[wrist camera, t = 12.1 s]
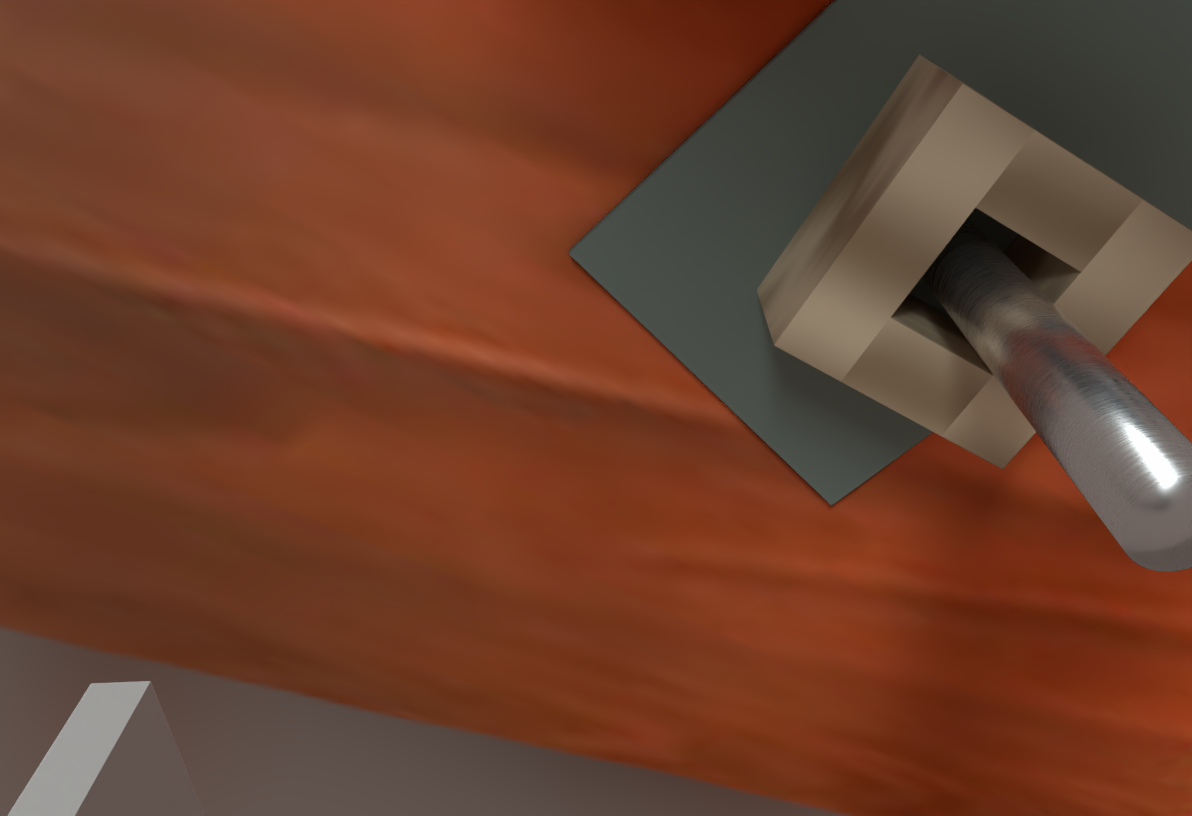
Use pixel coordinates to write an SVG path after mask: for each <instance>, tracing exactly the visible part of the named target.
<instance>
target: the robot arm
mask: <svg viewBox="0 0 1192 816" xmlns="http://www.w3.org/2000/svg"><path fill="white" fill-rule="evenodd" d="M8 816H205V815H204V812H203V810H202V807H201V805H200V802H199V800H198V798H197V795H196V793H195V790H194V788H193V785H192V783H191V780H190V778H189V775H188V773H187V771H186V768H185V766H184V763H183V760H182V758H181V755H180V753H179V751H178V748H177V745H176V743H175V740H174V738H173V736H172V733H171V731H170V728H169V726H168V723H167V721H166V718H165V716H164V713H163V711H162V708H161V706H160V703H159V701H158V698H157V696H156V693H155V691H154V688H153V686H152V683H151V681H144V682H118V683H94V684H90V686H89V688H88V689H87V691H86V692H85V694H84V696H83V697H82V699H81V700H80V702H79V703H78V705H77V707H76V708H75V710H74V711H73V713H72V714H71V716H70V718H69V719H68V721H67V722H66V724H65V726H64V727H63V729H62V730H61V732H60V733H59V735H58V737H57V738H56V740H55V741H54V743H53V744H52V746H51V748H50V749H49V751H48V753H47V754H46V756H45V757H44V759H43V760H42V762H41V763H40V765H39V767H38V768H37V770H36V772H35V773H34V775H33V776H32V778H31V779H30V781H29V783H28V784H27V786H26V787H25V789H24V790H23V792H22V794H21V795H20V797H19V798H18V800H17V801H16V803H15V805H14V806H13V808H12V809H11V811H10V813H9V814H8Z"/></svg>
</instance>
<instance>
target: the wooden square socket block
mask: <svg viewBox="0 0 1192 816" xmlns="http://www.w3.org/2000/svg"><path fill="white" fill-rule="evenodd" d="M975 207H976V208H977V209H979V210H980V211H982V212H984V213H985V214H987V215H989V216H990V217H992V218H994V219H995V220H997V221H998V222H1000V223H1002V224H1003V225H1005V226H1007V227H1008V228H1010V229H1012V230H1013V231H1015V232H1016V233H1018V235H1017V236H1016V238H1015V239H1014V240H1013V241H1012V243H1011V244H1010V245H1009V246H1008V248H1007V249H1006V250H1005V251H1004V254H1005V255H1006V256H1007V257H1008V258H1009V259H1010V260H1011V261H1012V262H1013V263H1014V264H1015V265H1016V266H1017V267H1018V268H1019V269H1020V270H1021V271H1022V272H1023V274H1024V275H1025V276H1026V277H1027V278H1028V279H1029V280H1030V281H1031V282H1032V283H1033V284H1034V285H1035V286H1036V287H1037V288H1038V289H1039V290H1040V291H1041V292H1042V293H1043V294H1044V295H1045V296H1046V297H1047V298H1048V299H1049V300H1050V301H1051V302H1052V303H1053V304H1054V305H1055V306H1056V307H1057V308H1058V309H1059V310H1060V311H1061V312H1062V313H1063V314H1064V315H1065V316H1066V317H1067V318H1068V319H1069V320H1070V321H1071V322H1072V323H1073V324H1074V325H1075V326H1076V327H1077V328H1078V329H1079V330H1080V331H1081V332H1082V333H1083V334H1084V335H1085V336H1086V337H1087V338H1088V339H1089V340H1090V341H1091V342H1092V343H1093V344H1094V345H1095V346H1096V347H1097V348H1098V349H1099V350H1100V351H1101V352H1102V353H1103V354H1104V355H1106V354H1107V353H1108V352H1109V351H1110V350H1111V349H1112V348H1113V347H1114V346H1115V344H1116V343H1117V342H1118V341H1119V340H1120V339H1121V338H1122V337H1123V336H1124V335H1125V333H1126V332H1127V331H1128V330H1129V329H1130V328H1131V327H1132V326H1133V325H1134V323H1135V322H1136V321H1137V320H1138V319H1139V318H1140V317H1141V316H1142V315H1143V314H1144V312H1145V311H1146V310H1147V309H1148V308H1149V307H1150V306H1151V305H1152V304H1153V303H1154V301H1155V300H1156V299H1157V298H1158V297H1159V296H1160V295H1161V294H1162V293H1163V291H1164V290H1165V289H1166V288H1167V287H1168V286H1169V285H1170V284H1171V283H1172V282H1173V280H1174V279H1175V278H1176V277H1177V276H1178V275H1179V274H1180V273H1181V272H1182V270H1183V269H1184V268H1185V267H1186V266H1187V265H1188V264H1189V263H1190V262H1191V261H1192V231H1191V230H1190V229H1188V228H1187V227H1185V226H1184V225H1182V224H1181V223H1179V222H1178V221H1176V220H1174V219H1173V218H1171V217H1170V216H1168V215H1167V214H1165V213H1164V212H1162V211H1161V210H1159V209H1158V208H1156V207H1155V206H1153V205H1152V204H1150V203H1149V202H1147V201H1146V200H1144V199H1143V198H1141V197H1140V196H1138V195H1137V194H1135V193H1134V192H1132V191H1130V190H1129V189H1127V188H1126V187H1124V186H1123V185H1121V184H1120V183H1118V182H1117V181H1115V180H1113V179H1112V178H1110V177H1109V176H1107V175H1106V174H1104V173H1103V172H1101V171H1099V170H1098V169H1096V168H1095V167H1093V166H1092V165H1090V164H1089V163H1087V162H1085V161H1084V160H1082V159H1081V158H1079V157H1078V156H1076V155H1075V154H1073V153H1072V152H1070V151H1068V150H1067V149H1065V148H1064V147H1062V146H1061V145H1059V144H1058V143H1056V142H1054V141H1053V140H1051V139H1050V138H1048V137H1047V136H1045V135H1044V134H1042V133H1041V132H1039V131H1037V130H1036V129H1034V128H1033V127H1031V126H1030V125H1028V124H1027V123H1025V122H1023V121H1022V120H1020V119H1019V118H1017V117H1016V116H1014V115H1013V114H1011V113H1009V112H1008V111H1006V110H1005V109H1003V108H1002V107H1000V106H999V105H997V104H996V103H994V102H992V101H991V100H989V99H988V98H986V97H985V96H983V95H982V94H980V93H978V92H977V91H975V90H974V89H972V88H971V87H969V86H968V85H966V84H965V83H963V82H961V81H960V80H958V79H957V78H955V77H954V76H952V75H951V74H949V73H947V72H946V71H944V70H943V69H941V68H940V67H938V66H937V65H935V64H933V63H932V62H930V61H929V60H927V59H926V58H924V57H923V56H921V55H920V54H919V56H918V57H917V59H916V60H915V62H914V63H913V64H912V66H911V67H910V69H909V70H908V72H907V73H906V75H905V76H904V77H903V79H902V80H901V82H900V83H899V85H898V86H897V88H896V89H895V90H894V92H893V93H892V95H891V96H890V98H889V99H888V101H887V102H886V103H885V105H884V106H883V108H882V109H881V111H880V112H879V114H878V115H877V116H876V118H875V119H874V121H873V122H872V124H871V125H870V127H869V128H868V130H867V131H866V132H865V134H864V135H863V137H862V138H861V140H860V141H859V143H858V144H857V145H856V147H855V148H854V150H853V151H852V153H851V154H850V156H849V157H848V158H847V160H846V161H845V163H844V164H843V166H842V167H841V169H840V170H839V171H838V173H837V174H836V176H835V177H834V179H833V180H832V182H831V183H830V184H829V186H828V187H827V189H826V190H825V192H824V193H823V195H822V196H821V197H820V199H819V200H818V202H817V203H816V205H815V206H814V208H813V209H812V211H811V212H810V213H809V215H808V216H807V218H806V219H805V221H804V222H803V224H802V225H801V226H800V228H799V229H798V231H797V232H796V234H795V235H794V237H793V238H792V239H791V241H790V242H789V244H788V245H787V247H786V248H785V250H784V251H783V252H782V254H781V255H780V257H779V258H778V260H777V261H776V263H775V264H774V265H773V267H772V268H771V270H770V271H769V273H768V274H767V276H766V277H765V279H764V280H763V281H762V283H761V284H760V286H759V287H758V289H757V293H758V296H759V299H760V302H761V305H762V309H763V312H764V315H765V318H766V321H767V324H768V328H769V331H770V334H771V337H772V340H773V344H774V346H776V347H778V348H780V349H782V350H784V351H785V352H787V353H789V354H791V355H793V356H795V357H796V358H798V359H800V360H802V361H804V362H806V363H807V364H809V365H811V366H813V367H815V368H817V369H818V370H820V371H822V372H824V373H826V374H828V375H830V376H831V377H833V378H835V379H837V380H839V381H841V382H842V383H844V384H846V385H848V386H850V387H852V388H853V389H855V390H857V391H859V392H861V393H863V394H865V395H866V396H868V397H870V398H872V399H874V400H876V401H877V402H879V403H881V404H883V405H885V406H887V407H888V408H890V409H892V410H894V411H896V412H898V413H899V414H901V415H903V416H905V417H907V418H909V419H911V420H912V421H914V422H916V423H918V424H920V425H922V426H923V427H925V428H927V429H929V430H931V431H933V432H934V433H936V434H938V435H940V436H942V437H944V438H946V439H947V440H949V441H951V442H953V443H955V444H957V445H958V446H960V447H962V448H964V449H966V450H968V451H969V452H971V453H973V454H975V455H977V456H979V457H980V458H982V459H984V460H986V461H988V462H990V463H992V464H993V465H995V466H997V467H999V468H1001V469H1003V468H1004V467H1005V466H1006V465H1007V464H1008V463H1009V461H1010V460H1011V459H1012V458H1013V457H1014V456H1015V455H1016V454H1017V453H1018V451H1019V450H1020V449H1021V448H1022V447H1023V446H1024V445H1025V444H1026V443H1027V442H1028V440H1029V439H1030V438H1031V437H1032V436H1033V435H1034V434H1035V433H1036V431H1035V430H1034V428H1033V427H1032V426H1031V424H1030V423H1029V422H1028V420H1027V419H1026V418H1025V416H1024V415H1023V414H1022V412H1021V411H1020V410H1019V408H1018V407H1017V405H1016V404H1015V403H1014V401H1013V400H1012V399H1011V397H1010V396H1009V395H1008V393H1007V392H1006V391H1005V389H1004V388H1003V387H1002V385H1001V384H1000V383H999V381H998V380H997V379H996V377H995V376H994V374H993V373H992V372H991V370H990V369H989V368H988V366H987V365H986V364H985V362H984V361H983V360H982V358H981V357H980V356H979V354H978V353H977V352H976V350H975V349H974V347H973V346H972V345H971V343H970V342H969V341H968V339H967V338H966V337H965V335H964V334H963V333H962V331H961V330H960V329H959V327H958V326H957V325H956V323H955V322H954V321H953V319H952V318H951V317H949V316H948V315H946V314H944V313H942V312H941V311H939V310H937V309H936V308H934V307H932V306H930V305H929V304H927V303H925V302H923V301H922V300H920V299H918V298H916V297H915V296H913V295H911V294H910V292H911V290H912V289H913V288H914V286H915V285H916V284H917V283H918V281H919V280H920V279H921V277H922V276H923V275H924V273H925V272H926V271H927V270H928V268H929V267H930V266H931V264H932V263H933V262H934V261H935V259H936V258H937V257H938V255H939V254H940V253H941V251H942V250H943V249H944V248H945V246H946V245H947V244H948V242H949V241H950V240H951V239H952V237H953V236H954V235H955V233H956V232H957V231H958V229H959V228H960V227H961V226H962V224H963V223H964V222H965V220H966V219H967V218H968V217H969V215H970V214H971V213H972V211H973V210H974V209H975Z"/></svg>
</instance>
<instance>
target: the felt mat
mask: <svg viewBox="0 0 1192 816" xmlns="http://www.w3.org/2000/svg"><path fill="white" fill-rule="evenodd" d="M919 54H920V55H921V56H923V57H924V58H926V59H927V60H929V61H930V62H932V63H933V64H935V65H937V66H938V67H940V68H941V69H943V70H944V71H946V72H947V73H949V74H951V75H952V76H954V77H955V78H957V79H958V80H960V81H961V82H963V83H965V84H966V85H968V86H969V87H971V88H972V89H974V90H975V91H977V92H978V93H980V94H982V95H983V96H985V97H986V98H988V99H989V100H991V101H992V102H994V103H996V104H997V105H999V106H1000V107H1002V108H1003V109H1005V110H1006V111H1008V112H1009V113H1011V114H1013V115H1014V116H1016V117H1017V118H1019V119H1020V120H1022V121H1023V122H1025V123H1027V124H1028V125H1030V126H1031V127H1033V128H1034V129H1036V130H1037V131H1039V132H1041V133H1042V134H1044V135H1045V136H1047V137H1048V138H1050V139H1051V140H1053V141H1054V142H1056V143H1058V144H1059V145H1061V146H1062V147H1064V148H1065V149H1067V150H1068V151H1070V152H1072V153H1073V154H1075V155H1076V156H1078V157H1079V158H1081V159H1082V160H1084V161H1085V162H1087V163H1089V164H1090V165H1092V166H1093V167H1095V168H1096V169H1098V170H1099V171H1101V172H1103V173H1104V174H1106V175H1107V176H1109V177H1110V178H1112V179H1113V180H1115V181H1117V182H1118V183H1120V184H1121V185H1123V186H1124V187H1126V188H1127V189H1129V190H1130V191H1132V192H1134V193H1135V194H1137V195H1138V196H1140V197H1141V198H1143V199H1144V200H1146V201H1147V202H1149V203H1150V204H1152V205H1153V206H1155V207H1156V208H1158V209H1159V210H1161V211H1162V212H1164V213H1165V214H1167V215H1168V216H1170V217H1171V218H1173V219H1174V220H1176V221H1178V222H1179V223H1181V224H1182V225H1184V226H1185V227H1187V228H1188V229H1190V230H1191V231H1192V0H834V1H833V2H832V3H831V4H830V5H829V6H827V7H826V8H825V9H824V10H823V11H822V12H821V13H820V14H819V15H818V16H817V17H816V18H815V19H814V20H813V21H812V22H811V23H809V24H808V25H807V26H806V27H805V28H804V29H803V30H802V31H801V32H800V33H799V34H798V35H797V36H796V37H795V38H794V39H793V40H791V41H790V42H789V43H788V44H787V45H786V46H785V47H784V48H783V49H782V50H781V51H780V52H779V53H778V54H777V55H776V56H775V57H773V58H772V59H771V60H770V61H769V62H768V63H767V64H766V65H765V66H764V67H763V68H762V69H761V70H760V71H759V72H758V73H757V74H755V75H754V76H753V77H752V78H751V79H750V80H749V81H748V82H747V83H746V84H745V85H744V86H743V87H742V88H741V89H740V90H739V91H737V92H736V93H735V94H734V95H733V96H732V97H731V98H730V99H729V100H728V101H727V102H726V103H725V104H724V105H723V106H722V107H721V108H719V109H718V110H717V111H716V112H715V113H714V114H713V115H712V116H711V117H710V118H709V119H708V120H707V121H706V122H705V123H704V124H702V125H701V126H700V127H699V128H698V129H697V130H696V131H695V132H694V133H693V134H692V135H691V136H690V137H689V138H688V139H687V140H686V141H684V142H683V143H682V144H681V145H680V146H679V147H678V148H677V149H676V150H675V151H674V152H673V153H672V154H671V155H670V156H669V157H668V158H666V159H665V160H664V161H663V162H662V163H661V164H660V165H659V166H658V167H657V168H656V169H655V170H654V171H653V172H652V173H651V174H650V175H648V176H647V177H646V178H645V179H644V180H643V181H642V182H641V183H640V184H639V185H638V186H637V187H636V188H635V189H634V190H633V191H632V192H630V193H629V194H628V195H627V196H626V197H625V198H624V199H623V200H622V201H621V202H620V203H619V204H618V205H617V206H616V207H615V208H614V209H612V210H611V211H610V212H609V213H608V214H607V215H606V216H605V217H604V218H603V219H602V220H601V221H600V222H599V223H598V224H597V225H596V226H594V227H593V228H592V229H591V230H590V231H589V232H588V233H587V234H586V235H585V236H584V237H583V238H582V239H581V240H580V241H579V242H577V243H576V244H575V245H574V246H573V247H572V248H571V249H570V250H569V255H570V256H571V257H572V258H573V259H574V260H575V261H576V262H578V263H579V264H580V265H581V266H582V267H583V268H584V269H585V270H586V271H587V272H588V273H589V274H590V275H591V276H592V277H593V278H594V279H595V280H596V281H597V282H598V283H599V284H600V285H602V286H603V287H604V288H605V289H606V290H607V291H608V292H609V293H610V294H611V295H612V296H613V297H614V298H615V299H616V300H617V301H618V302H619V303H620V304H621V305H622V306H623V307H625V308H626V309H627V310H628V311H629V312H630V313H631V314H632V315H633V316H634V317H635V318H636V319H637V320H638V321H639V322H640V323H641V324H642V325H643V326H644V327H645V328H646V329H647V330H649V331H650V332H651V333H652V334H653V335H654V336H655V337H656V338H657V339H658V340H659V341H660V342H661V343H662V344H663V345H664V346H665V347H666V348H667V349H668V350H669V351H670V352H672V353H673V354H674V355H675V356H676V357H677V358H678V359H679V360H680V361H681V362H682V363H683V364H684V365H685V366H686V367H687V368H688V369H689V370H690V371H691V372H692V373H693V374H694V375H696V376H697V377H698V378H699V379H700V380H701V381H702V382H703V383H704V384H705V385H706V386H707V387H708V388H709V389H710V390H711V391H712V392H713V393H714V394H715V395H716V396H717V397H719V398H720V399H721V400H722V401H723V402H724V403H725V404H726V405H727V406H728V407H729V408H730V409H731V410H732V411H733V412H734V413H735V414H736V415H737V416H738V417H739V418H740V419H742V420H743V421H744V422H745V423H746V424H747V425H748V426H749V427H750V428H751V429H752V430H753V431H754V432H755V433H756V434H757V435H758V436H759V437H760V438H761V439H762V440H763V441H764V442H766V443H767V444H768V445H769V446H770V447H771V448H772V449H773V450H774V451H775V452H776V453H777V454H778V455H779V456H780V457H781V458H782V459H783V460H784V461H785V462H786V463H787V464H789V465H790V466H791V467H792V468H793V469H794V470H795V471H796V472H797V473H798V474H799V475H800V476H801V477H802V478H803V479H804V480H805V481H806V482H807V483H808V484H809V485H810V486H811V487H813V488H814V489H815V490H816V491H817V492H818V493H819V494H820V495H821V496H822V497H823V498H824V499H825V500H826V501H827V502H828V503H829V504H830V505H831V506H832V505H833V504H834V503H836V502H837V501H838V500H840V499H841V498H843V497H844V496H845V495H847V494H848V493H850V492H851V491H852V490H854V489H855V488H856V487H858V486H859V485H861V484H862V483H863V482H865V481H866V480H868V479H869V478H870V477H872V476H873V475H874V474H876V473H877V472H879V471H880V470H881V469H883V468H884V467H885V466H887V465H888V464H890V463H891V462H892V461H894V460H895V459H897V458H898V457H899V456H901V455H902V454H903V453H905V452H906V451H908V450H909V449H910V448H912V447H913V446H915V445H916V444H917V443H919V442H920V441H921V440H923V439H924V438H926V437H927V436H928V435H930V434H931V433H932V432H933V431H931V430H929V429H927V428H925V427H923V426H922V425H920V424H918V423H916V422H914V421H912V420H911V419H909V418H907V417H905V416H903V415H901V414H899V413H898V412H896V411H894V410H892V409H890V408H888V407H887V406H885V405H883V404H881V403H879V402H877V401H876V400H874V399H872V398H870V397H868V396H866V395H865V394H863V393H861V392H859V391H857V390H855V389H853V388H852V387H850V386H848V385H846V384H844V383H842V382H841V381H839V380H837V379H835V378H833V377H831V376H830V375H828V374H826V373H824V372H822V371H820V370H818V369H817V368H815V367H813V366H811V365H809V364H807V363H806V362H804V361H802V360H800V359H798V358H796V357H795V356H793V355H791V354H789V353H787V352H785V351H784V350H782V349H780V348H778V347H776V346H774V344H773V340H772V337H771V334H770V331H769V328H768V324H767V321H766V318H765V315H764V312H763V309H762V305H761V302H760V299H759V296H758V293H757V289H758V287H759V286H760V284H761V283H762V281H763V280H764V279H765V277H766V276H767V274H768V273H769V271H770V270H771V268H772V267H773V265H774V264H775V263H776V261H777V260H778V258H779V257H780V255H781V254H782V252H783V251H784V250H785V248H786V247H787V245H788V244H789V242H790V241H791V239H792V238H793V237H794V235H795V234H796V232H797V231H798V229H799V228H800V226H801V225H802V224H803V222H804V221H805V219H806V218H807V216H808V215H809V213H810V212H811V211H812V209H813V208H814V206H815V205H816V203H817V202H818V200H819V199H820V197H821V196H822V195H823V193H824V192H825V190H826V189H827V187H828V186H829V184H830V183H831V182H832V180H833V179H834V177H835V176H836V174H837V173H838V171H839V170H840V169H841V167H842V166H843V164H844V163H845V161H846V160H847V158H848V157H849V156H850V154H851V153H852V151H853V150H854V148H855V147H856V145H857V144H858V143H859V141H860V140H861V138H862V137H863V135H864V134H865V132H866V131H867V130H868V128H869V127H870V125H871V124H872V122H873V121H874V119H875V118H876V116H877V115H878V114H879V112H880V111H881V109H882V108H883V106H884V105H885V103H886V102H887V101H888V99H889V98H890V96H891V95H892V93H893V92H894V90H895V89H896V88H897V86H898V85H899V83H900V82H901V80H902V79H903V77H904V76H905V75H906V73H907V72H908V70H909V69H910V67H911V66H912V64H913V63H914V62H915V60H916V59H917V57H918V56H919ZM968 218H969V219H970V220H971V221H972V222H973V223H974V224H975V225H976V226H977V227H978V228H979V229H980V230H981V231H982V232H983V233H984V234H985V235H986V236H987V237H988V238H989V239H990V240H991V241H992V242H993V243H994V244H995V245H996V246H997V247H998V248H999V249H1000V250H1001V251H1002V252H1003V253H1004V251H1005V250H1006V249H1007V248H1008V246H1009V245H1010V244H1011V243H1012V241H1013V240H1014V239H1015V238H1016V236H1017V235H1018V233H1016V232H1015V231H1013V230H1012V229H1010V228H1008V227H1007V226H1005V225H1003V224H1002V223H1000V222H998V221H997V220H995V219H994V218H992V217H990V216H989V215H987V214H985V213H984V212H982V211H980V210H979V209H977V208H976V207H975V209H974V210H973V211H972V213H971V214H970V215H969V217H968ZM910 294H911V295H913V296H915V297H916V298H918V299H920V300H922V301H923V302H925V303H927V304H929V305H930V306H932V307H934V308H936V309H937V310H939V311H941V312H942V313H944V314H946V315H948V316H949V317H951V316H950V315H949V314H948V312H947V311H946V310H945V308H944V307H943V306H942V304H941V303H940V302H939V300H938V299H937V298H936V296H935V295H934V294H933V292H932V291H931V290H930V288H929V287H928V285H927V284H926V283H925V281H924V280H923V279H922V277H921V279H920V280H919V281H918V283H917V284H916V285H915V286H914V288H913V289H912V290H911V292H910Z"/></svg>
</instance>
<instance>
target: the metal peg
mask: <svg viewBox="0 0 1192 816" xmlns="http://www.w3.org/2000/svg"><path fill="white" fill-rule="evenodd" d="M922 279H923V280H924V281H925V283H926V284H927V285H928V287H929V288H930V290H931V291H932V292H933V294H934V295H935V296H936V298H937V299H938V300H939V302H940V303H941V304H942V306H943V307H944V308H945V310H946V311H947V312H948V314H949V315H950V316H951V318H952V319H953V321H954V322H955V323H956V325H957V326H958V327H959V329H960V330H961V331H962V333H963V334H964V335H965V337H966V338H967V339H968V341H969V342H970V343H971V345H972V346H973V347H974V349H975V350H976V352H977V353H978V354H979V356H980V357H981V358H982V360H983V361H984V362H985V364H986V365H987V366H988V368H989V369H990V370H991V372H992V373H993V374H994V376H995V377H996V379H997V380H998V381H999V383H1000V384H1001V385H1002V387H1003V388H1004V389H1005V391H1006V392H1007V393H1008V395H1009V396H1010V397H1011V399H1012V400H1013V401H1014V403H1015V404H1016V405H1017V407H1018V408H1019V410H1020V411H1021V412H1022V414H1023V415H1024V416H1025V418H1026V419H1027V420H1028V422H1029V423H1030V424H1031V426H1032V427H1033V428H1034V430H1035V431H1036V432H1037V434H1038V435H1039V437H1040V438H1041V439H1042V441H1043V442H1044V443H1045V445H1046V446H1047V447H1048V449H1049V450H1050V451H1051V453H1052V454H1053V455H1054V457H1055V458H1056V459H1057V461H1058V462H1059V463H1060V465H1061V466H1062V468H1063V469H1064V470H1065V472H1066V473H1067V474H1068V476H1069V477H1070V478H1071V480H1072V481H1073V482H1074V484H1075V485H1076V486H1077V488H1078V489H1079V490H1080V492H1081V493H1082V494H1083V496H1084V497H1085V499H1086V500H1087V501H1088V503H1089V504H1090V505H1091V507H1092V508H1093V509H1094V511H1095V512H1096V513H1097V515H1098V516H1099V517H1100V519H1101V520H1102V521H1103V523H1104V524H1105V526H1106V527H1107V528H1108V530H1109V531H1110V532H1111V534H1112V535H1113V536H1114V538H1115V539H1116V540H1117V542H1118V543H1119V544H1120V546H1121V547H1122V548H1123V550H1124V551H1125V552H1126V554H1127V555H1128V556H1129V558H1130V559H1131V560H1133V561H1134V562H1135V563H1137V564H1138V565H1140V566H1142V567H1144V568H1147V569H1151V570H1155V571H1166V572H1167V571H1179V570H1184V569H1188V568H1192V443H1191V442H1190V441H1189V440H1188V439H1187V438H1186V437H1185V436H1184V435H1183V434H1182V433H1181V432H1180V431H1179V430H1178V429H1177V428H1176V427H1175V426H1174V425H1173V424H1172V423H1171V422H1170V421H1169V420H1168V419H1167V418H1166V417H1165V416H1164V415H1163V414H1162V413H1161V412H1160V411H1159V410H1158V409H1157V408H1156V407H1155V406H1154V405H1153V404H1152V403H1151V402H1150V401H1149V400H1148V399H1147V398H1146V397H1145V396H1144V395H1143V394H1142V393H1141V392H1140V391H1139V390H1138V389H1137V388H1136V387H1135V386H1134V385H1133V384H1132V383H1131V382H1130V381H1129V380H1128V378H1127V377H1126V376H1125V375H1124V374H1123V373H1122V372H1121V371H1120V370H1119V369H1118V368H1117V367H1116V366H1115V365H1114V364H1113V363H1112V362H1111V361H1110V360H1109V359H1108V358H1107V357H1106V356H1105V355H1104V354H1103V353H1102V352H1101V351H1100V350H1099V349H1098V348H1097V347H1096V346H1095V345H1094V344H1093V343H1092V342H1091V341H1090V340H1089V339H1088V338H1087V337H1086V336H1085V335H1084V334H1083V333H1082V332H1081V331H1080V330H1079V329H1078V328H1077V327H1076V326H1075V325H1074V324H1073V323H1072V322H1071V321H1070V320H1069V319H1068V318H1067V317H1066V316H1065V315H1064V314H1063V313H1062V312H1061V311H1060V310H1059V309H1058V308H1057V307H1056V306H1055V305H1054V304H1053V303H1052V302H1051V301H1050V300H1049V299H1048V298H1047V297H1046V296H1045V295H1044V294H1043V293H1042V292H1041V291H1040V290H1039V289H1038V288H1037V287H1036V286H1035V285H1034V284H1033V283H1032V282H1031V281H1030V280H1029V279H1028V278H1027V277H1026V276H1025V275H1024V274H1023V272H1022V271H1021V270H1020V269H1019V268H1018V267H1017V266H1016V265H1015V264H1014V263H1013V262H1012V261H1011V260H1010V259H1009V258H1008V257H1007V256H1006V255H1005V254H1004V253H1003V252H1002V251H1001V250H1000V249H999V248H998V247H997V246H996V245H995V244H994V243H993V242H992V241H991V240H990V239H989V238H988V237H987V236H986V235H985V234H984V233H983V232H982V231H981V230H980V229H979V228H978V227H977V226H976V225H975V224H974V223H973V222H972V221H971V220H970V219H969V218H967V219H966V220H965V222H964V223H963V224H962V226H961V227H960V228H959V229H958V231H957V232H956V233H955V235H954V236H953V237H952V239H951V240H950V241H949V242H948V244H947V245H946V246H945V248H944V249H943V250H942V251H941V253H940V254H939V255H938V257H937V258H936V259H935V261H934V262H933V263H932V264H931V266H930V267H929V268H928V270H927V271H926V272H925V273H924V275H923V276H922Z"/></svg>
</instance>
